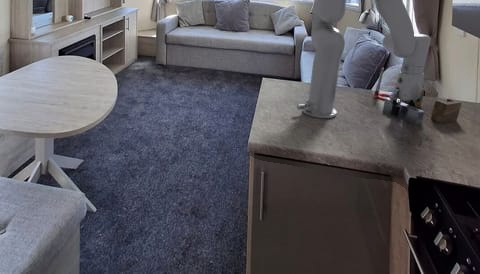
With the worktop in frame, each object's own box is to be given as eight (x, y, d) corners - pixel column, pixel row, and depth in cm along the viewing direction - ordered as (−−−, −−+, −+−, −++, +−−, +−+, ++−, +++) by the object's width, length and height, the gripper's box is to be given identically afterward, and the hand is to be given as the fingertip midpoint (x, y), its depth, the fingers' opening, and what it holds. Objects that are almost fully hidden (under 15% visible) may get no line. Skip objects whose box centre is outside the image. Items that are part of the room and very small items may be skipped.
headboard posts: (456, 121, 148) (462, 102, 145) (441, 123, 145) (447, 104, 142) (410, 102, 166) (415, 85, 163) (397, 104, 163) (400, 87, 160)
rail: (421, 124, 144) (424, 111, 142) (415, 125, 143) (418, 112, 141) (388, 109, 158) (391, 97, 156) (382, 110, 156) (385, 98, 154)
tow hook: (396, 98, 173) (375, 93, 176) (404, 69, 167) (382, 65, 171) (394, 103, 166) (372, 98, 169) (402, 74, 160) (379, 69, 164)
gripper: (402, 73, 136) (392, 120, 143) (437, 70, 143) (425, 115, 150) (386, 68, 142) (377, 113, 149) (421, 65, 149) (410, 109, 156)
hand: (401, 114), depth 150 cm, fingers open, 7 cm apart
